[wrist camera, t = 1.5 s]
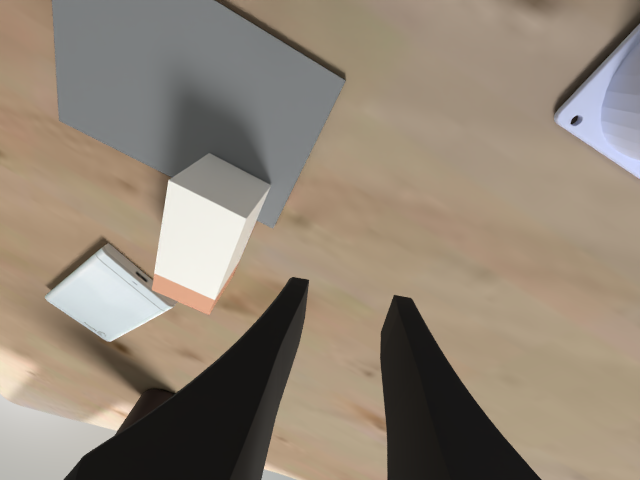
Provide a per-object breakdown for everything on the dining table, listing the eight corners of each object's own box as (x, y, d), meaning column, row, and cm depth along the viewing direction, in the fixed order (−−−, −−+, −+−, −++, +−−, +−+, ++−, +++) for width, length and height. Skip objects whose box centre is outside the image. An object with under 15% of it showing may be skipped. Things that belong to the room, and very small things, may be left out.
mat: (345, 80, 15) (345, 80, 15) (274, 226, 21) (272, 228, 21) (52, -100, 13) (45, -103, 13) (62, 119, 19) (59, 120, 19)
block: (246, 218, 15) (208, 314, 21) (271, 185, 19) (233, 275, 25) (168, 180, 15) (151, 290, 21) (209, 152, 18) (185, 253, 24)
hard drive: (109, 343, 32) (171, 310, 27) (41, 297, 29) (97, 249, 24) (119, 332, 34) (181, 297, 28) (56, 286, 31) (112, 239, 25)
